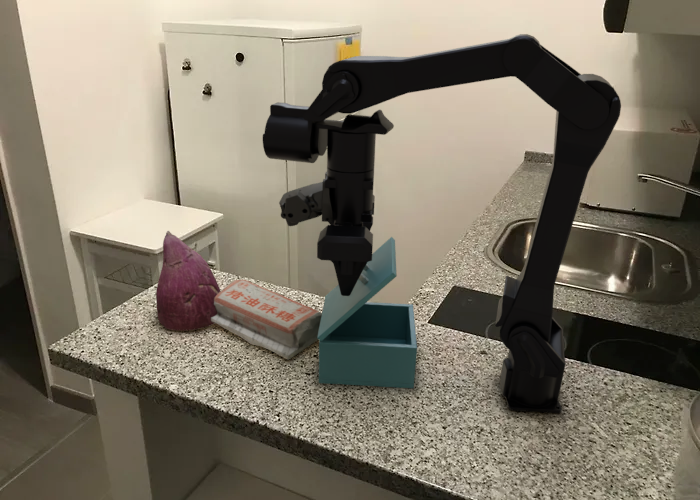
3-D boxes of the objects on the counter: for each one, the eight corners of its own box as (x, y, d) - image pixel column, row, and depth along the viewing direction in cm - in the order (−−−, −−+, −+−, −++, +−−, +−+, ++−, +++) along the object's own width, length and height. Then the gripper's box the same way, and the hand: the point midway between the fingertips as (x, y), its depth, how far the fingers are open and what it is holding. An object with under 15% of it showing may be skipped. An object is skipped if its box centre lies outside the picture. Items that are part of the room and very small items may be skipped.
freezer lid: (395, 240, 80) (370, 215, 79) (396, 276, 69) (367, 249, 68) (328, 299, 84) (303, 277, 83) (320, 341, 74) (292, 317, 72)
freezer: (410, 341, 86) (413, 304, 84) (413, 388, 76) (417, 348, 73) (326, 336, 87) (326, 299, 84) (318, 383, 76) (318, 342, 74)
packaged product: (333, 304, 86) (288, 333, 78) (331, 332, 88) (288, 363, 80) (244, 268, 95) (196, 290, 87) (244, 294, 97) (198, 318, 89)
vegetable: (151, 336, 91) (110, 250, 86) (202, 302, 98) (166, 221, 93) (190, 343, 84) (148, 250, 79) (241, 306, 91) (206, 219, 86)
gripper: (294, 146, 79) (295, 251, 85) (270, 187, 62) (273, 315, 68) (376, 149, 79) (371, 255, 85) (375, 191, 62) (369, 319, 68)
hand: (347, 282), depth 76 cm, fingers open, 7 cm apart
